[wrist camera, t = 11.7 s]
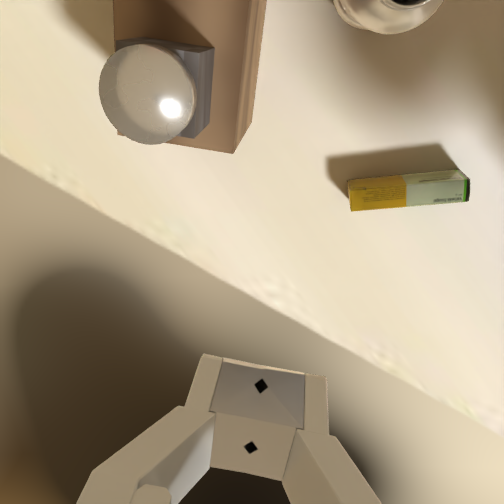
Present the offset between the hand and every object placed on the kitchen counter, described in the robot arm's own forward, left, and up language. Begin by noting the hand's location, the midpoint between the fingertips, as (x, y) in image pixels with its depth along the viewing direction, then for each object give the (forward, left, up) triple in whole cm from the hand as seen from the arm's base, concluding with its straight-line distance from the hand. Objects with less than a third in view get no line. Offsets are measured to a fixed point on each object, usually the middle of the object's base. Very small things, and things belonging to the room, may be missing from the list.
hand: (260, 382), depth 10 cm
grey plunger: (+10, -2, -26) cm, 28 cm away
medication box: (-13, +7, -40) cm, 42 cm away
